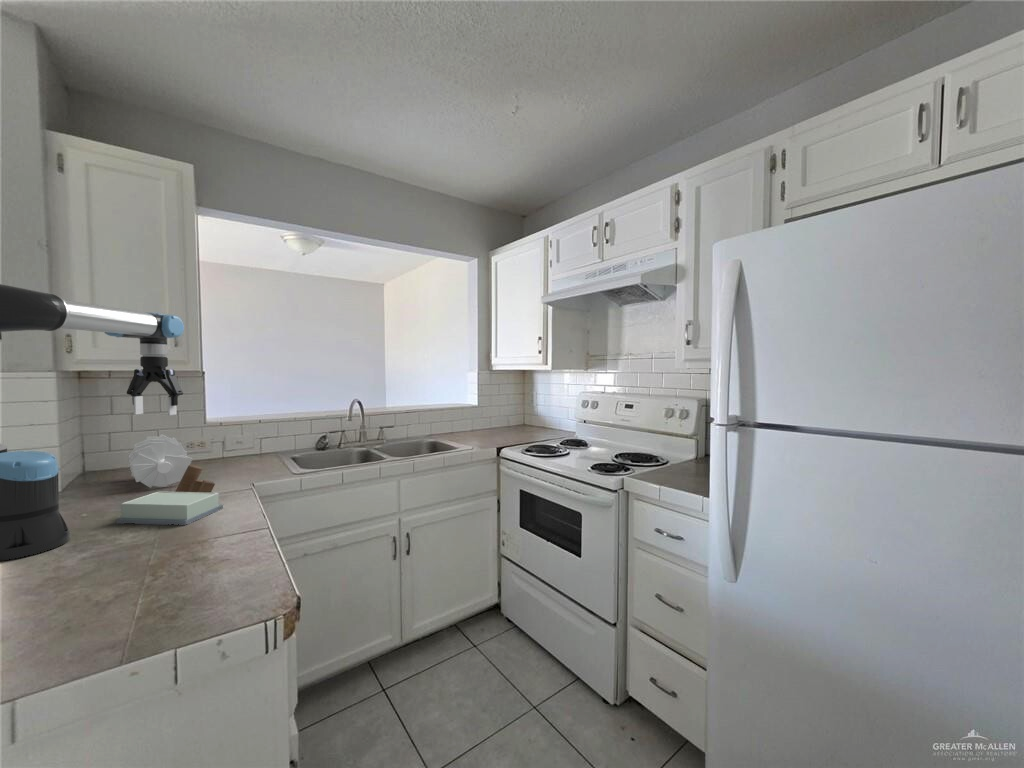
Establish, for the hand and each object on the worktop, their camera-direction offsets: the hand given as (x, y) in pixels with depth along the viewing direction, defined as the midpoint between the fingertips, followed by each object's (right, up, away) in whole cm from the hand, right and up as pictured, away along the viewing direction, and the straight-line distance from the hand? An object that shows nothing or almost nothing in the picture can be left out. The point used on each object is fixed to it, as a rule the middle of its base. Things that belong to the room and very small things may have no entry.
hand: (155, 414), depth 150 cm
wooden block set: (+19, -29, -7) cm, 35 cm away
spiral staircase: (-7, -28, +10) cm, 30 cm away
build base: (+27, -29, -25) cm, 47 cm away
